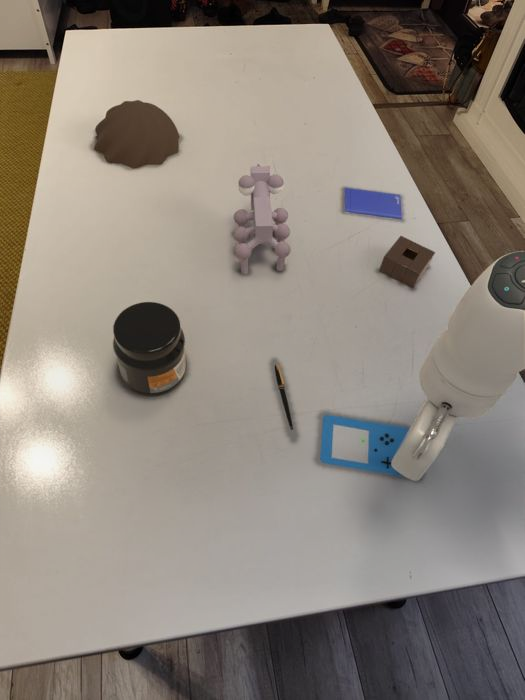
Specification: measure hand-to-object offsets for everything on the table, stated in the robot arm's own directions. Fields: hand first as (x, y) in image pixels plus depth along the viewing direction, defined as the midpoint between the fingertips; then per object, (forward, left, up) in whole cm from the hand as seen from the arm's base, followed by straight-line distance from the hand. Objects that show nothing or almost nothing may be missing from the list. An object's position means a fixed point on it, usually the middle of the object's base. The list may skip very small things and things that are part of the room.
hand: (421, 432), depth 69 cm
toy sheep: (+44, -27, -11) cm, 53 cm away
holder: (+17, -38, -11) cm, 43 cm away
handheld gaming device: (+5, 0, -11) cm, 12 cm away
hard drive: (+31, -52, -11) cm, 62 cm away
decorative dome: (+84, -36, -11) cm, 92 cm away
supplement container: (+40, +9, -11) cm, 42 cm away
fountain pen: (+20, +1, -11) cm, 23 cm away
